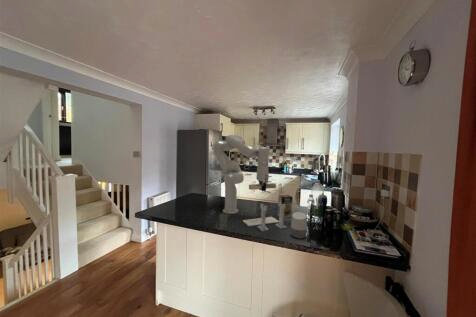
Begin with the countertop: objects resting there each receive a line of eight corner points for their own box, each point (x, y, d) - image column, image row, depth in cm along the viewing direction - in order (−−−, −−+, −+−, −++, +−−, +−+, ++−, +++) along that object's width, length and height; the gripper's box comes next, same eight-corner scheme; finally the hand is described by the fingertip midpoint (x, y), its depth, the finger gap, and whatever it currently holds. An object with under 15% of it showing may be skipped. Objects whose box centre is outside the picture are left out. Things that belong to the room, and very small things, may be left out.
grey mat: (242, 221, 148) (242, 220, 148) (271, 217, 157) (271, 216, 157) (248, 226, 139) (248, 225, 139) (279, 222, 148) (279, 221, 148)
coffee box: (281, 218, 156) (282, 197, 155) (277, 215, 163) (278, 195, 162) (292, 217, 159) (292, 196, 158) (287, 214, 165) (288, 194, 164)
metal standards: (257, 227, 137) (258, 203, 136) (281, 224, 144) (282, 201, 143) (261, 231, 132) (262, 206, 131) (286, 227, 139) (287, 203, 138)
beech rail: (248, 188, 144) (248, 184, 144) (273, 187, 152) (273, 183, 152) (250, 189, 141) (250, 185, 141) (275, 187, 149) (275, 183, 149)
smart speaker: (288, 237, 124) (289, 214, 123) (293, 232, 132) (294, 210, 131) (304, 241, 119) (305, 217, 118) (308, 235, 127) (309, 213, 126)
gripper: (253, 163, 152) (252, 188, 153) (264, 165, 137) (263, 193, 138) (262, 163, 155) (261, 188, 156) (273, 165, 140) (273, 192, 140)
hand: (262, 190), depth 147 cm, fingers closed on beech rail, 3 cm apart
